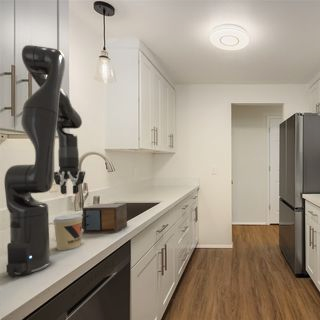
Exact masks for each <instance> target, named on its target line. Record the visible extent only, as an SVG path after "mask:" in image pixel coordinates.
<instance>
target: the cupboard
mask: <svg viewBox="0 0 320 320" xmlns="http://www.w3.org/2000/svg"><path fill="white" fill-rule="evenodd" d="M127 205H128V204H127V202H124V203H123V202H122V203H121V202H119V203H93V204H91V205H87V206H84V207H82V216H86V210H100V226H101V230H86V227H85V229H82V233H83V234H111V233H112V234H113V233H114V234H115V233H118V232H120V231H121V230H124V229H126V228H127V227H128V211H127V209H128V208H127ZM85 225H86V218H85Z"/></svg>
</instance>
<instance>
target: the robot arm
mask: <svg viewBox="0 0 320 320" xmlns="http://www.w3.org/2000/svg"><path fill="white" fill-rule="evenodd" d="M21 60H22V62H23V65H24V67H25V69H26V70H27V72H28V74H29V75H30V76H31V78H32V79H33V80H34V82H35V83H36V84H37V86H38V87H39V88H38V89H37V90H36V91H35V92H33V93H32V94H31V95H29V97H28V98H27V99H26V100H25V102H24V103H23V106H22V111H21V119H20V124H21V127H22V129H23V132H24V133H25V134H26V136H27V137H28V139H29V140H30V142H31V144H32V146H33V149H34V155H35V158H34V164H16V165H12V166H10V167H9V168H8V169H7V170H6V172H5V175H4V181H3V183H4V194H5V203H6V209H7V211H8V213H9V235H10V236H9V238H10V239H9V240H10V242H8V243H7V248H6V249H7V251H6V252H7V264H6V273H7V276H11V277H12V278H15V277H17V276H27V275H31V274H33V273H36V272H40V271H41V270H44V269H46V268H48V267H49V266H50V265H51V254H50V253H51V252H50V220H49V218H50V216H49V205H48V203H46V202H42V201H39V200H37V199H35V198H34V197H33V196H32V194H44V193H48V192H49V191H50V190H52V188H53V185H54V183H55V185H57V186H59V187H60V193H61V195H66V194H67V193H68V192H67V183H68V181H69V180H70V182H71V183H72V194H73V195H77V194H78V193H79V191H80V188H79V186H80V185H82V184H84V180H85V177H86V171H85V170H80V169H79V166H80V159H79V158H80V157H79V147H78V146H79V145H78V144H79V143H78V140H79V139H78V136H77V134H75V133H70V132H67V131H66V129H68V130H69V129H70V130H71V129H73V130H75V129H79V128H81V126H82V124H83V119H82V117H81V116H80V113H78V111H77V110H76V109H75V108H74V107H73V106H72V103H71V100H70V97H69V95H68V94H67V93H66V92H65V91H64V90H63V88H62V85H63V79H64V74H65V69H66V59H65V55H64V53H63V52H62V51H61V50H59V49H57V48H52V47H47V46H40V45H34V44H33V45H32V44H27V45H24V46H23V48H22V50H21ZM56 135H57V137H58V152H57V153H58V155H57V156H58V157H57V158H58V168H59V169H58V171H55V146H56Z"/></svg>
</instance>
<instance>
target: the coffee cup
mask: <svg viewBox="0 0 320 320" xmlns="http://www.w3.org/2000/svg"><path fill="white" fill-rule="evenodd" d="M82 216H83V214H81V213H70V214H63V215H59V216H56V217H55V218H54V219H53V226H54V235H55V244H56V249H57V250H59V251H66V250H72V249H76V248H77V247H80V246H81V243H82V232H83V229H82Z"/></svg>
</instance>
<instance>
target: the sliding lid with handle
mask: <svg viewBox="0 0 320 320" xmlns="http://www.w3.org/2000/svg"><path fill="white" fill-rule="evenodd" d="M85 218H86V225H85ZM85 227H86V230H101V226H100V210H86V216H83V215H82V230H83V229H85Z"/></svg>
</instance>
